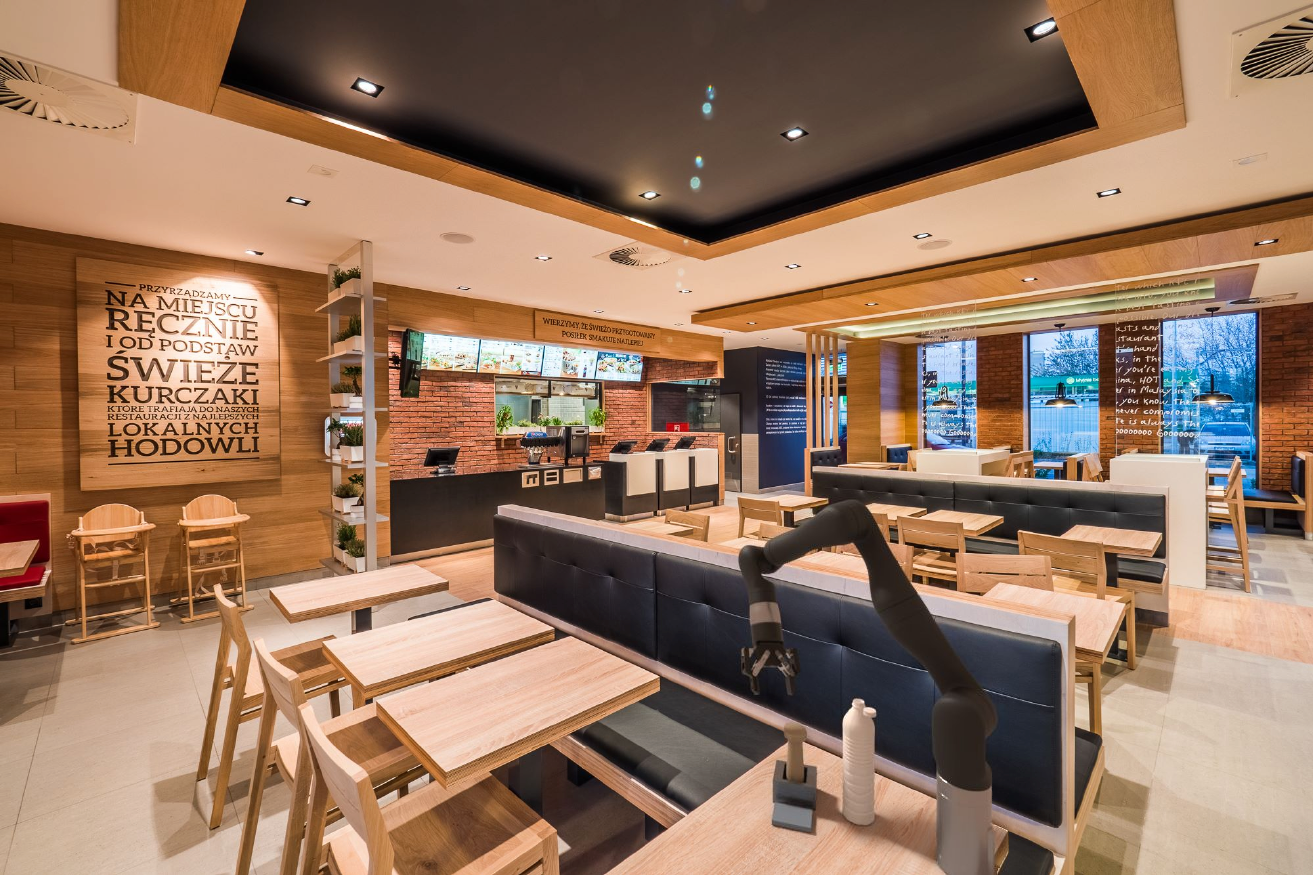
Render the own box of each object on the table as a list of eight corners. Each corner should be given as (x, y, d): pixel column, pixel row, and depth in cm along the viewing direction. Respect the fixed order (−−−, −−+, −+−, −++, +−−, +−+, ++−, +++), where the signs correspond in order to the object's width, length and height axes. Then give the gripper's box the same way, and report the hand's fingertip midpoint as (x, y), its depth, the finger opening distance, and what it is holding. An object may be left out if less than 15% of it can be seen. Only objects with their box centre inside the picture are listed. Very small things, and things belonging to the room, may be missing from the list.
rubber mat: (812, 814, 123) (812, 809, 123) (811, 832, 117) (811, 827, 117) (774, 806, 125) (774, 802, 125) (771, 824, 119) (771, 819, 119)
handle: (788, 804, 126) (788, 737, 126) (781, 786, 132) (781, 722, 132) (809, 804, 126) (809, 737, 126) (801, 785, 132) (801, 722, 132)
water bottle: (836, 807, 125) (837, 694, 124) (863, 804, 126) (864, 692, 126) (858, 835, 116) (858, 714, 116) (887, 831, 117) (887, 711, 117)
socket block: (816, 787, 132) (816, 766, 132) (815, 810, 124) (815, 787, 124) (776, 780, 134) (776, 759, 134) (772, 802, 127) (772, 779, 126)
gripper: (744, 619, 137) (751, 692, 129) (798, 621, 140) (809, 692, 132) (733, 626, 143) (740, 696, 135) (785, 627, 146) (795, 696, 138)
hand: (774, 694), depth 134 cm, fingers open, 8 cm apart
